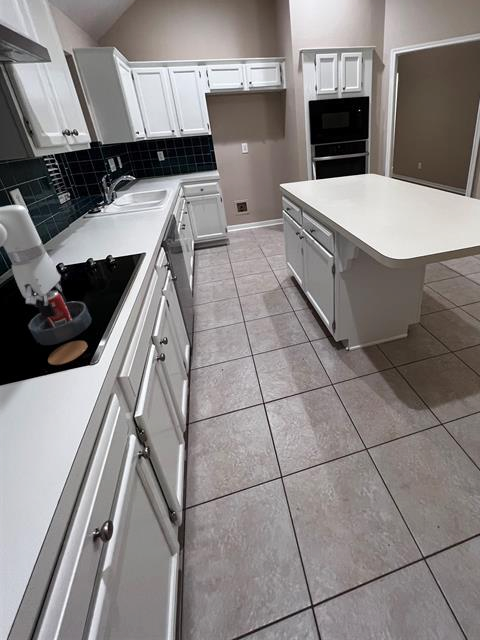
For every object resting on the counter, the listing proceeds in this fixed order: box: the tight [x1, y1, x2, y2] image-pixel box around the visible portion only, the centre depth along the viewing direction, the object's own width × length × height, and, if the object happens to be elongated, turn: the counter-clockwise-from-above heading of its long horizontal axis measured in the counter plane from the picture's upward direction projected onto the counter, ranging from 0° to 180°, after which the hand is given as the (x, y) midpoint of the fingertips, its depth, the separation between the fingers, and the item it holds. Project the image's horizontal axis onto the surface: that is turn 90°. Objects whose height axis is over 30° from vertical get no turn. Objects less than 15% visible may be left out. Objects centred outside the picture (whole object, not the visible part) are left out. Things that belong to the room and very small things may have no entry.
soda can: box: [38, 290, 72, 328], centre depth 90 cm, size 5×5×12 cm
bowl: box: [27, 301, 93, 346], centre depth 92 cm, size 14×14×6 cm
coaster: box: [47, 340, 88, 366], centre depth 84 cm, size 9×9×1 cm
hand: (55, 309), depth 90 cm, fingers closed on soda can, 5 cm apart
